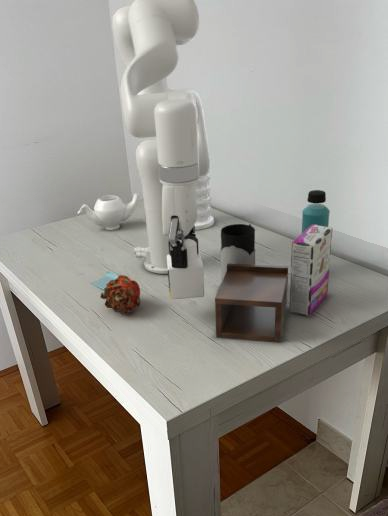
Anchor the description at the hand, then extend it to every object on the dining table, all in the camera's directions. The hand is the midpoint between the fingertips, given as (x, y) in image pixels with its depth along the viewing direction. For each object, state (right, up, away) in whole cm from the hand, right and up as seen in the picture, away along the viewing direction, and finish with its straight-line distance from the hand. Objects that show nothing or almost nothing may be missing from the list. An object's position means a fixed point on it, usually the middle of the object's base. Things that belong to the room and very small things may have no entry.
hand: (184, 258), depth 112 cm
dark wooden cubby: (+14, -13, +4) cm, 20 cm away
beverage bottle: (+31, 0, +24) cm, 39 cm away
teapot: (-23, +19, +57) cm, 65 cm away
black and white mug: (+13, -4, +19) cm, 23 cm away
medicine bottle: (0, -6, +4) cm, 8 cm away
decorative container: (+2, +20, +57) cm, 60 cm away
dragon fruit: (-14, -10, +12) cm, 21 cm away
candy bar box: (+27, -9, +10) cm, 30 cm away
